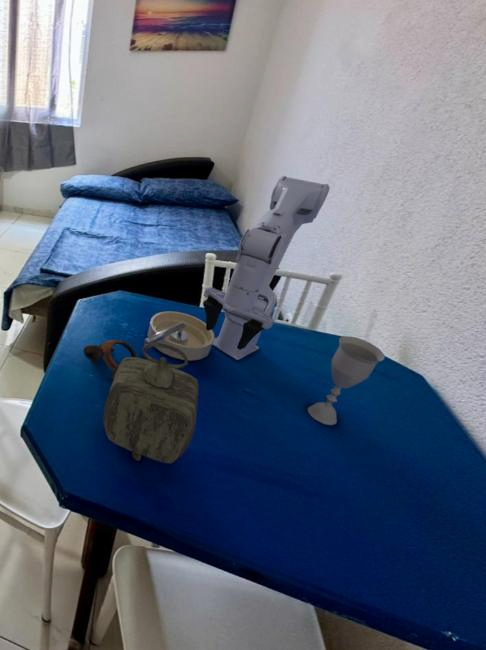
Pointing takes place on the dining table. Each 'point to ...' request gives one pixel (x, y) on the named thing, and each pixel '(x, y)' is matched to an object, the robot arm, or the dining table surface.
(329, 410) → the chalice
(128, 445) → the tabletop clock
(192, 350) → the bowl
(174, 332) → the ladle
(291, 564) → the dining table surface
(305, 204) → the robot arm
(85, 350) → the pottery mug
